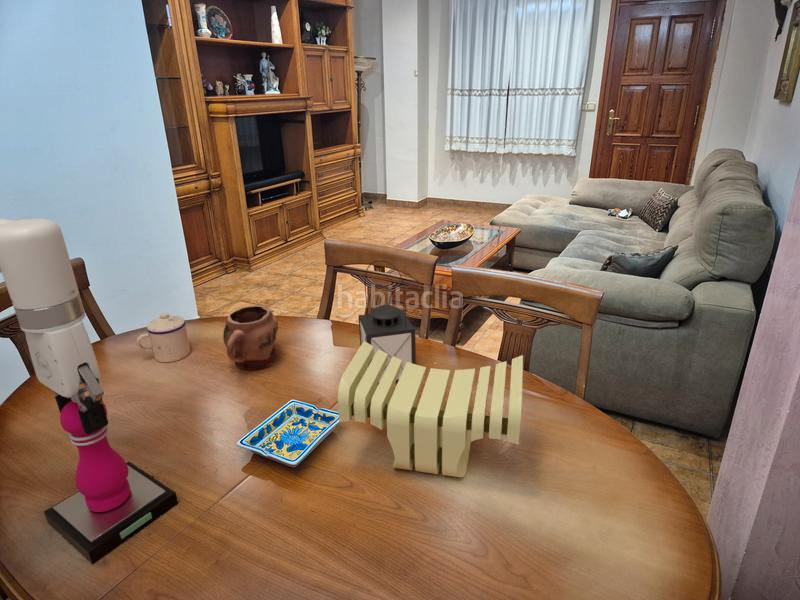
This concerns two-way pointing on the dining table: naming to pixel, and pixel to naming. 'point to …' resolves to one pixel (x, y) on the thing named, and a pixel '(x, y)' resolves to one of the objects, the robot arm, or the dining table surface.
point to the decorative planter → (251, 337)
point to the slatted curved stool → (429, 409)
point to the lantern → (389, 332)
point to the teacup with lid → (167, 338)
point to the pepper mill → (96, 463)
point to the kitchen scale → (111, 516)
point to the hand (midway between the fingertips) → (84, 420)
